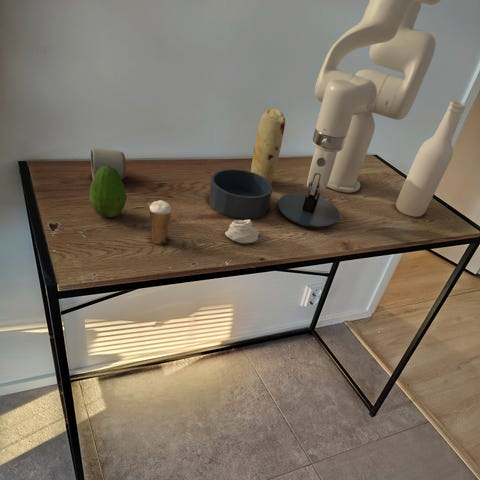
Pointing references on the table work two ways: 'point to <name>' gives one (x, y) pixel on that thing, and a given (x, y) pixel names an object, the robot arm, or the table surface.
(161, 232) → the milkshake
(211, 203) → the pot
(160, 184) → the table surface
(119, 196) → the avocado
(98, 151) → the ceramic mug
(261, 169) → the food model
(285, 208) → the pot lid
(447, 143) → the alcohol
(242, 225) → the whipped cream
